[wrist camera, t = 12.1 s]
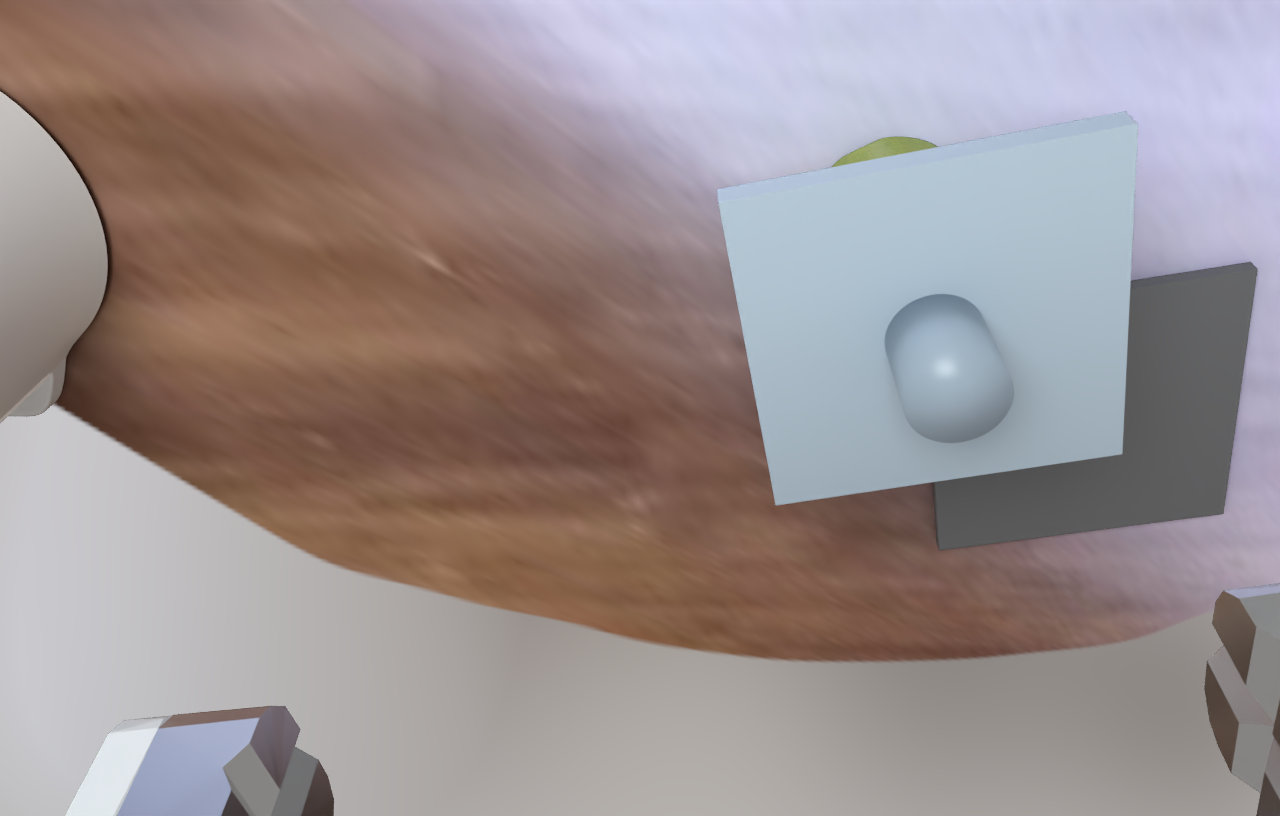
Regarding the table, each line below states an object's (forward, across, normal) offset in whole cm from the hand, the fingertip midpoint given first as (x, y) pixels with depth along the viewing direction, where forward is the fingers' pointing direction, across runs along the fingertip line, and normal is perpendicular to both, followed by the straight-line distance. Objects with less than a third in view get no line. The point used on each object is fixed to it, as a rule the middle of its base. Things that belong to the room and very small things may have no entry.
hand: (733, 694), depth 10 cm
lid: (+24, -6, +12) cm, 28 cm away
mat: (+33, -13, +24) cm, 43 cm away
